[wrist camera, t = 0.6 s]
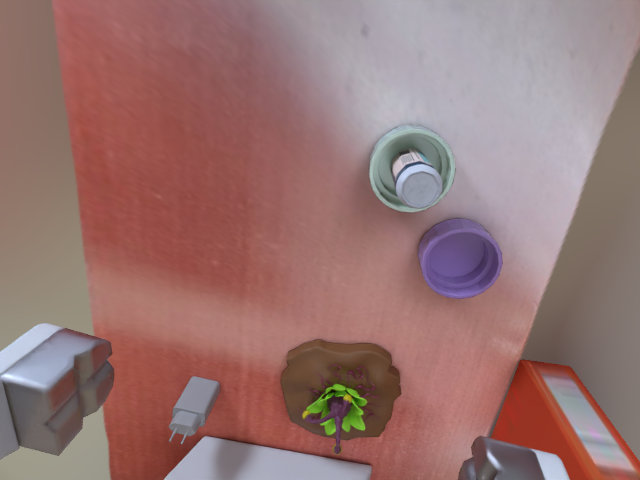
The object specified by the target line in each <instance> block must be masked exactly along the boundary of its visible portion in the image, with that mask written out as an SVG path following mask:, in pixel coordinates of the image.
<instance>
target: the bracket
mask: <svg viewBox="0 0 640 480" xmlns="http://www.w3.org/2000/svg"><path fill="white" fill-rule="evenodd" d="M371 472H372V467H371V466H370V465H364V464H359V463H353V462H348V461H342V460H336V459H331V458H325V457H320V456H314V455H309V454H303V453H297V452H292V451H286V450H281V449H275V448H269V447H264V446H258V445H253V444H247V443H242V442H236V441H230V440H225V439H219V438H214V437H208V436H205V437H203V438H202V439H201V440H200V441H199V442H198V444H197V445H196V446H195V447H194V448H193V449H192V450H191V451H190V452H189V453H188V454H187V455H186V456H185V457H184V458H183V459H182V461H181V462H180V463H179V464H178V465H177V466H176V467H175V468H174V469H173V470H172V471H171V472H170V473H169V474H168V475H167V476H166V478H165V479H164V480H370V476H371Z"/></svg>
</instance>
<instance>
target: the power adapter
mask: <svg viewBox="0 0 640 480" xmlns="http://www.w3.org/2000/svg"><path fill="white" fill-rule="evenodd" d="M219 391H220V384H219V382H217V381H213V380H208V379H204V378H199V377H191V379H190V381H189V382H188V384H187V386H186V388H185V389H184V391H183V393H182V394H181V396H180V398H179V400H178V401H177V403H176V405H175V407H174V408H173V416H172V418H173V420H172V422H171V423H170V425H169V428H170V429H171V430H172V431H173V434H172V436H171V438H170V440H169V442H170V441H171V440H172V438H173V436H174V434H175V433H179V434H183V435H185V436H184V438H183V440H182V442H181V444H183V442H184V440H185V438H186V436H187V435H188V436H192V435H193V434H195V433H196V431H197V429H198V427H203V426H204V425H205V423H206V420H207V418H208V416H209V414H210V412H211V410H212V407H213V405H214V403H215V401H216V399H217V397H218V394H219Z"/></svg>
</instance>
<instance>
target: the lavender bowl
mask: <svg viewBox="0 0 640 480" xmlns="http://www.w3.org/2000/svg"><path fill="white" fill-rule="evenodd" d="M418 258H419V264H420V267H421V271H422V274H423V277H424V279H425V281H426V282H427V284H428V286H429V287H430V288H432V289H433V290H434V291H435V292H436V293H438V294H440V295H443V296H445V297H448V298H455V299H463V298H470V297H473V296H476V295H478V294H480V293H483V292H484V291H485V290H487V289H488V288H489V287H490V286H492V285H493V284H494V282H495V281H496V279H497V278H498V276H499V275H500V271H501V268H502V264H503V263H502V252H501V250H500V248H499V246H498V244H497V242H496V241H495V240H494V239H493V237H492V236H491V235H490V234H489V232H488V231H487V230H486V229H485V228H483V227H482V226H481V225H480V224H478V223H476V222H474V221H471V220H468V219H459V218H456V219H451V220H445V221H443V222H441V223H439V224H437V225H435V226H433V227H432V228H431V229H430V230H429V231H428V232H427V233H426V234H425V235H424V237H423V239H422V241H421V242H420V245H419V250H418Z"/></svg>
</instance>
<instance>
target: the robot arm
mask: <svg viewBox="0 0 640 480" xmlns="http://www.w3.org/2000/svg"><path fill="white" fill-rule="evenodd" d="M111 355H112V347H111V342H109V341H107V340H105V339H102V338H98V337H95V336H91V335H88V334H84V333H81V332H77V331H74V330H70V329H67V328H62V327H59V326H55V325H52V324H48V323H43V324H39V325H36V326H35V327H33V328H32V329H31V330H29V331H28V332H27V333H25V334H24V335H22V336H21V337H20V338H18V339H17V340H16V341H14V342H13V343H11V344H10V345H9V346H7V347H6V348H5V349H3V350H2V351H0V459H2V458H3V457H5V456H7V455H9V454H11V453H12V452H14V451H16V450H18V449H19V446H22V447H26V448H30V449H34V450H38V451H42V452H46V453H50V454H54V455H58V456H59V455H60V454H61V453H62V451H63V450H64V449H65V448H66V447H67V445H68V444H69V443H70V442H71V441H72V440H73V438H74V437H75V436H76V435H77V434H78V433H79V432H80V430H81V429H82V425H83V417H85V416H88V415H90V414H92V413H94V412H96V411H97V410H98V409H99V408H100V407H101V406H102V404H103V403H104V402H105V401H106V399H107V397H108V395H109V393H110V391H111V389H112V386H113V381H114V368H113V367H112V366H111V364H110V363H109V362H108V360H107V359H108V358H109V357H110V356H111ZM471 450H472V455H473V457H472V458H470V459H468V460H466V461H464V463H463V465H462V467H461V469H460V472H459V477H458V480H570V479H569V476H568V474H567V472H566V469H565V467H564V465H563V462H562V460H561V459H560V458H559V457H558V456H557V455H555V454H551V453H547V452H543V451H539V450H535V449H531V448H527V447H524V446H520V445H516V444H512V443H508V442H504V441H500V440H496V439H491V438H487V437H483V436H479V437H477V438H476V439H475V441H474V442H473V444H472V446H471Z"/></svg>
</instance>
